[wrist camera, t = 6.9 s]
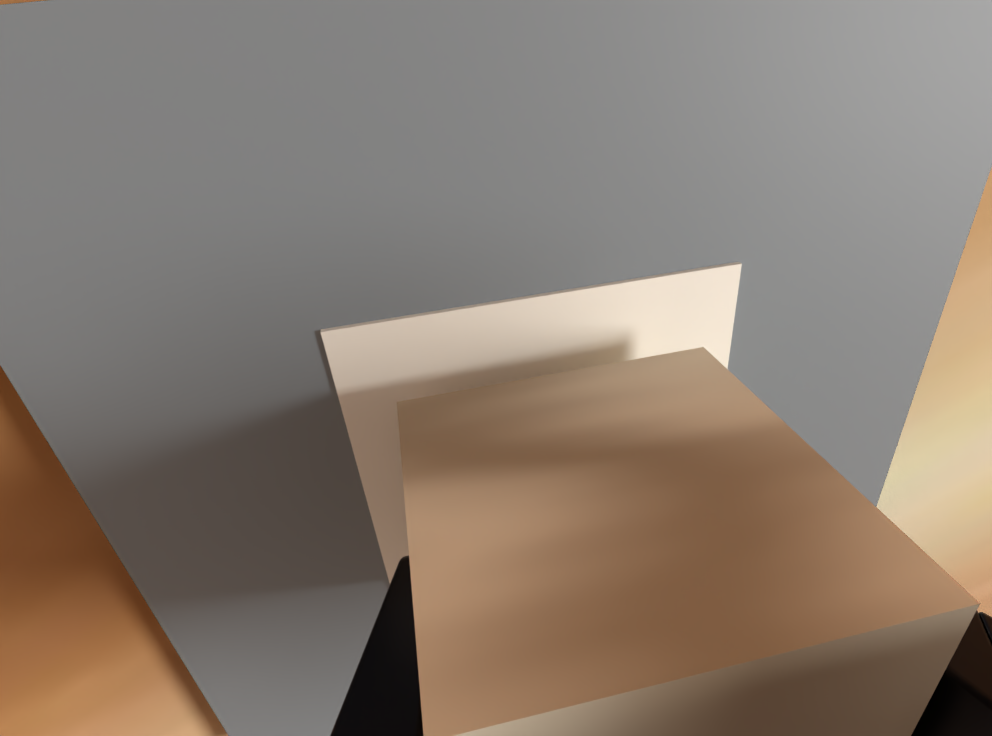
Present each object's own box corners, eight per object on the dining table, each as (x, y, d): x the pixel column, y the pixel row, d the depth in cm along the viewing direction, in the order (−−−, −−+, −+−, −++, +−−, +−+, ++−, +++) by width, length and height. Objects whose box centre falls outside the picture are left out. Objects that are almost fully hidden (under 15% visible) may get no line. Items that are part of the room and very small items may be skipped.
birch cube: (441, 611, 11) (485, 955, 7) (397, 401, 9) (425, 742, 5) (680, 558, 12) (852, 846, 8) (703, 347, 9) (981, 603, 5)
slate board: (256, 729, 15) (249, 774, 14) (-140, 25, 7) (-218, 23, 6) (812, 596, 17) (838, 629, 16) (1011, -81, 9) (1087, -95, 8)
